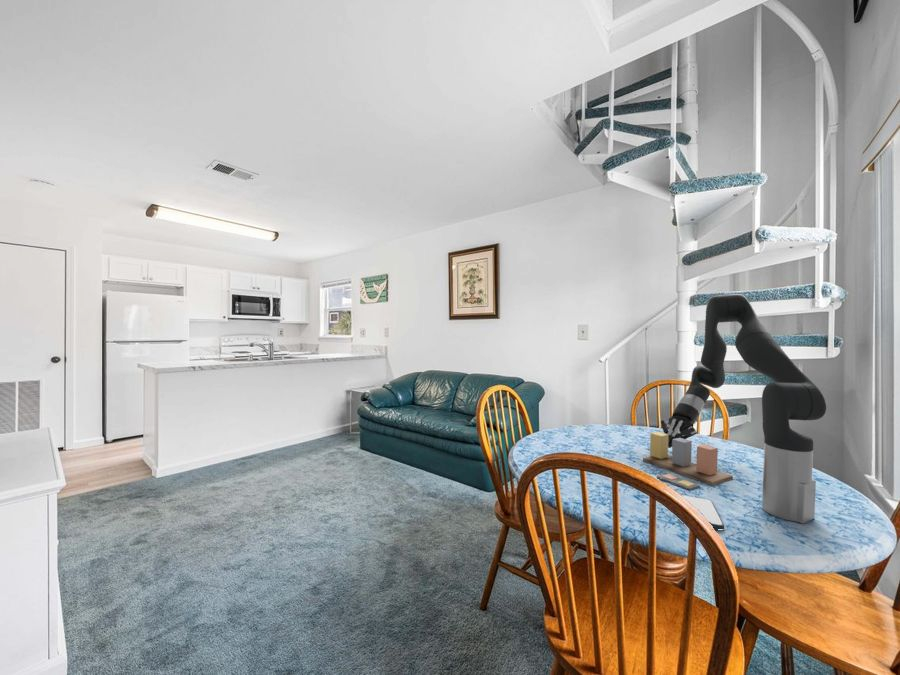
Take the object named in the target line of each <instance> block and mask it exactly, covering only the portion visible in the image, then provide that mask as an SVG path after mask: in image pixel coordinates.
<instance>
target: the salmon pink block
mask: <svg viewBox="0 0 900 675" xmlns="http://www.w3.org/2000/svg"><path fill="white" fill-rule="evenodd" d="M718 451H719V450H718V447H716V446H711V445H709V444H705V443H704V444H701V445H700V444H699V445H697V446H696V463H695V464H696V471H698V472H701V473H704V474H707V475H713V474H716V473H717V471H718Z"/></svg>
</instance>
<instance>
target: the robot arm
mask: <svg viewBox="0 0 900 675" xmlns="http://www.w3.org/2000/svg"><path fill="white" fill-rule="evenodd" d="M707 300H708V301H707V303H706V307H705V308H706V309H705V319H704V320H705V322H704V323H705V324H704V344H703V349H702V354H701V358H700V363H701V364H699V365H696V366H694V368H692V373H691V380H690V384H689V386H688V389H687V390H686V392H685V393H684V395H683V396H682V397H681V399H680V400H679V402H678V403H677V405H676V407H675V409H674V410H673V412H672V416H670V417H669V418H668V420H660V424H661V427H662V428H661V429H662V431H663V432H662V433H664V434H668V449H672V439H676V438H683V439H686V440H688V438H691V437H693V436H695V435H697V434H698V432H697V430H696V429H695V427H694V424H696V422H697V420H698V418H699V416H700V415H701V413H702V411H703V409H704V406H705V405H706V402H707V401H708V399H709V397H710V395H711V392H710V390H709V389H708V388H707V387H709V388H712V389H713V388H714V389H719V388H721V387H722V386H723V385H724V383H725V380H726V373H725V369H724V368H725V367H724V365H725V364H724V362H725V358H726V356H727V351H728V346H727V344H726V342H725V340H724V338H723V336H721V334H720V332H719V329H718V324H719V323H730V322H731V323H735V322H736V323H739V324H740V326H741V328H740V329H739V331H738V332H737V334H736V336H735V340H734V345H735V348H736V350H737V352H738V354H739V355H740V357H741V359H742V360H743V362H744V363H745V364H747V366H749V367H750V368H752V369H753V370H756V371H757V372H758V373H760V374H762V375H764V376H766V377H767V378H769V379H771V380H773V381H774V382H773V381H772V382H769V383H767V384H766V385H765V386H764V388H763V390H762V393H761V412H762V431H763V438H764V444H763V447H764V449H763V470H762V474H763V475H762V499H761V502H762V504H761V507H762V510H764V511H765V512H766V513H768V514H770V515H772V516H775V517H777V518H779V519H784V520H787V521H792V522H797V523H800V524H806V523H808V522H810V521H811V520H813V519H815V513H816V512H815V510H816V509H815V508H816V491H817V490H816V488H817V485H816V482H817V481H816V480H815V479H813V467H814V466H813V462H814V461H813V460H814V440H813V438H812V437H811V436H808V435H807V434H803V433H800V432H798V431H796V430H793V429H792V428H791V426H790V421H791V420H792V421H794V420H795V421H816V420H819V419H821V418H823V417H824V416H825V414H826V411H827V403H826V399H825V397H824V395H823V394H822V392H821V390H820V389H819V388H818V387H817V386H816V384H815V383H814V382H813V381H812V380H810V378H809V377H808V376H806V374H804V372H802V370H801V369H799V367H797V365H796V364H795V363H794V362H793V361H792V360H791V358H789V356H788V355H787V354H786V352H785V351H784V350H783V349H782V347H781V345H780V344H779V343H778V341H777V340H776V339H775V338H774V336H773V335H772V334H771V333H770V332H769V331H768V329H767V328H766V326H765V325H764V324H763V322H762V321H761V320H760V318H759V317H758V315H757V313H756V312H755V309H754V308H753V306H752V303H750V301H749V299H748V298H747V297H746V296H745V295H743V294H739V293H734V294H733V293H732V294H718V295H714V296H713V295H712V296H710V298H709V299H707ZM789 420H790V421H789Z"/></svg>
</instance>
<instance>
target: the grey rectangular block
mask: <svg viewBox="0 0 900 675" xmlns="http://www.w3.org/2000/svg"><path fill="white" fill-rule="evenodd" d="M692 443H693V441H692V440H689V439H683V438H676V439H672V447H671V456H672V463H674V464H677V465H680V466H683V467H685V466H688V465H691V463H692V448H693V447H692V445H693V444H692Z"/></svg>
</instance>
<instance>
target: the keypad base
mask: <svg viewBox="0 0 900 675" xmlns="http://www.w3.org/2000/svg"><path fill="white" fill-rule="evenodd" d="M642 461H643V462H646V463H649V464H651V463H652V465H655V466H657V467H659V466H660V468H662V467H663V468H662V469H665V468H666V470H668V469H669V471H671V472H674V473H677V474H679V475H682V476H686V477H688V478H691V479H693V480H696V481H699V482H702V483H704V484H705V483H706V484H708V485H711V486H716V485H718V484H721V483H726V482H728V481H731V480H734V476H733V475H731V474H728V473H725V472H722V471H720V470H719V471H718V470H717V473H716V474H713V475H707V474H704V473H701V472H698V471H696V463H693V462H691V465H688V466H685V467H683V466H680V465H677V464H674V463H672V455H669V454H668V457H667V458H663V459H659V458H656V457H653V456H650V455H649V456H645V457H642Z"/></svg>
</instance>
